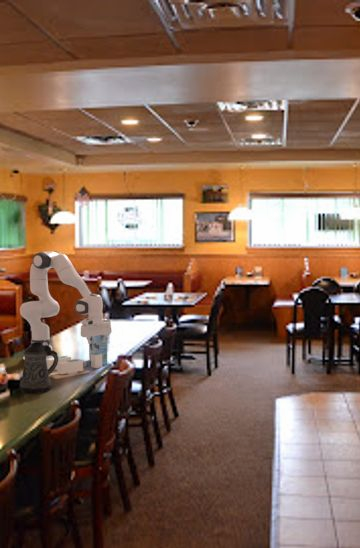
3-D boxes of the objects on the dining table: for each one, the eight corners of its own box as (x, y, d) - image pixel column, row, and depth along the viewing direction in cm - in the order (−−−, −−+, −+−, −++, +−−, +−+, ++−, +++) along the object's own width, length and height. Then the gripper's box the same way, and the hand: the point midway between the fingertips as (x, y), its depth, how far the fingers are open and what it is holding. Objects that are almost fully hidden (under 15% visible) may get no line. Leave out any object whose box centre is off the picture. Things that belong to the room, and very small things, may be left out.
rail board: (39, 373, 374) (39, 359, 373) (72, 367, 387) (72, 353, 387) (55, 379, 358) (55, 364, 358) (89, 372, 372) (89, 358, 371)
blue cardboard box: (89, 359, 409) (88, 324, 407) (96, 359, 411) (95, 324, 410) (100, 365, 392) (99, 329, 390) (108, 364, 394) (107, 328, 393)
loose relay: (75, 367, 388) (75, 362, 388) (82, 365, 393) (82, 361, 392) (79, 368, 386) (79, 363, 385) (86, 366, 390) (86, 361, 390)
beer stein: (13, 390, 335) (12, 343, 333) (45, 383, 349) (44, 338, 347) (30, 395, 323) (29, 347, 321) (62, 388, 337) (61, 342, 335)
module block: (91, 366, 388) (90, 353, 388) (98, 365, 392) (97, 352, 391) (95, 368, 385) (95, 354, 384) (102, 366, 388) (102, 353, 387)
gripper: (107, 318, 395) (108, 340, 396) (78, 321, 382) (79, 344, 383) (113, 319, 390) (113, 341, 391) (84, 322, 377) (85, 345, 378)
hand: (96, 342), depth 387 cm, fingers open, 8 cm apart
